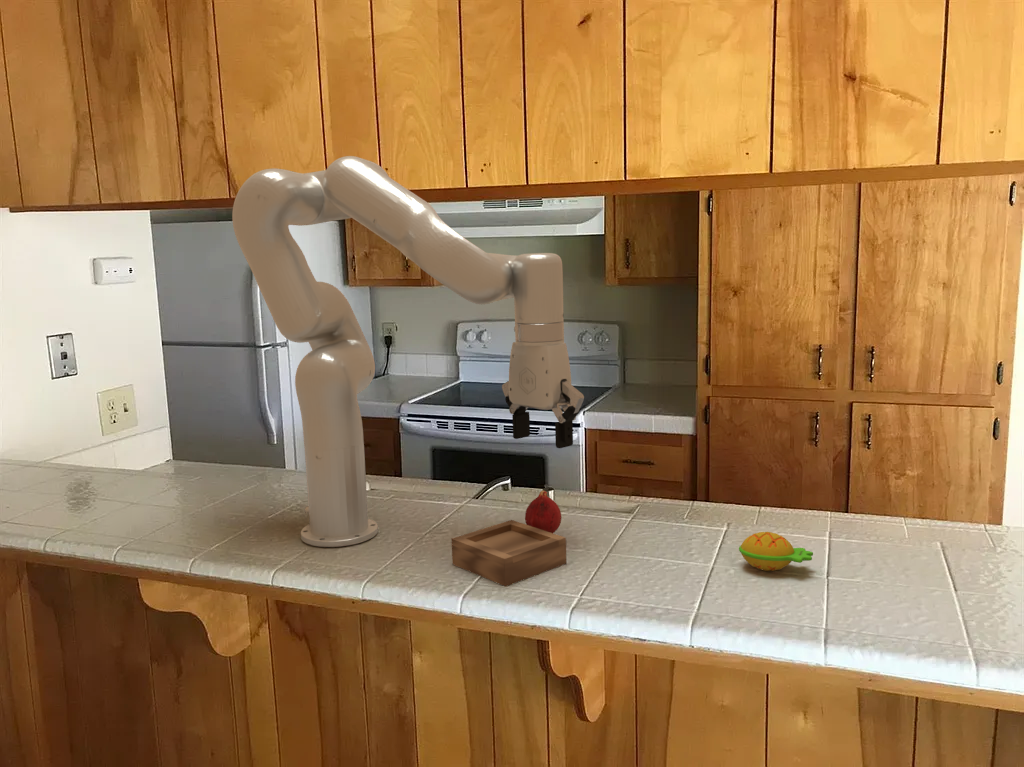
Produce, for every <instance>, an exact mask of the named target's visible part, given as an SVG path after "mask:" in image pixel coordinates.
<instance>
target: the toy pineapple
mask: <svg viewBox="0 0 1024 767" xmlns="http://www.w3.org/2000/svg"><path fill="white" fill-rule="evenodd" d="M738 551H739V553H740V554H741V556H742V558H743V559H744V560H745V561H746V562H747V563H748V564H749V565H750V566H752V567H753V568H756V569H758V570H761V571H766V572H768V571H769V572H770V571H779V570H782V569H783V568H785V567H787V566H788V565H790V564H791V563H792V562H794V563H803V561H804V562H807V561H809V562H810V561H812V560H813V557H812V556H813V555H814V552H813V551H811V550H806V548H805V547H794V546H793V545H792V543H791V542H790V541H789V540H787V538H786V537H784V536H783V535H780V534H778V533H776V532H771V531H759V532H757V533H756V532H755V533H753V534H751V535H749V536H748V537H746V538H745V539H744V540H743V541H742V543H741V545H739V548H738Z"/></svg>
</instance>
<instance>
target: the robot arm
mask: <svg viewBox="0 0 1024 767" xmlns="http://www.w3.org/2000/svg"><path fill="white" fill-rule="evenodd" d="M231 216H232V226H233V231H234V234H235V238H236V240H237V243H238V246H239V247H240V248H239V249H240V250H241V252H242V254H243V256H244V258H245V259H246V262H247V264H248V266H249V268H250V270H251V272H252V275H253V277H254V278H255V282H256V284H257V286H258V288H259V290H260V293H261V296H262V297H263V299H264V302H265V303H266V305H267V308H268V310H269V312H270V314H271V316H272V319H273V322H274V323H275V325H276V327H277V329H278V331H279V333H280V334H281V335H282V336H283V337H284V338H286V340H288V341H291V342H293V343H299V344H301V343H309V344H308V345H309V346H310V349H311V350H310V351H309V352H308V353H307V354H306V355H304V356H303V358H302V359H301V360H300V362H299V364H298V365H297V368H296V371H295V376H294V378H295V379H294V385H295V392H296V397H297V400H298V401H297V402H298V406H299V410H300V415H301V423H302V433H303V434H302V435H303V436H302V437H303V447H304V458H305V473H306V474H305V475H306V488H307V501H308V502H307V503H308V505H307V506H306V507H304V512H305V513H306V514H307V515H308V518H309V524H307V525H305V526H304V527H303V528H302V529H301V530H300V538H301V541H302V542H304V543H305V544H307V545H309V546H313V547H322V548H335V547H336V548H337V547H345V546H346V547H347V546H353V545H357V544H361V543H363V542H366V541H369V540H370V539H372V538H374V537H375V536H376V535H377V534H378V533H379V525H378V523H377V522H376V521H375V520H374V519H372V518H369V514H368V513H369V512H368V510H369V509H368V494H367V477H366V476H367V475H366V460H365V457H366V456H365V445H364V444H365V441H364V430H363V429H364V428H363V420H362V414H361V410H360V406H359V405H360V404H359V401H358V394H360V393H362V392H363V391H364V390H366V389H367V388H368V387H369V386H370V384H371V382H372V381H373V379H374V377H375V371H376V363H375V358H374V355H373V352H372V350H371V348H370V346H369V343H368V341H367V339H366V337H365V335H364V332H363V331H362V328H361V326H360V324H359V321H358V319H357V317H356V315H355V313H354V311H353V308H352V307H351V304H350V303H349V300H348V299H347V298H346V297H345V295H344V293H343V292H342V291H341V290H339V289H338V288H337V287H336V286H334V285H333V284H331V283H328V282H324V281H318V280H317V279H316V278H315V276H314V274H313V272H312V270H311V267H310V266H309V264H308V261H307V259H306V257H305V254H304V252H303V250H302V249H301V247H300V246H299V244H298V243H297V241H296V240H295V238H294V237H293V235H292V234H291V231H290V228H289V226H312V225H319V224H322V223H323V224H324V223H328V222H329V223H330V222H334V221H339V220H340V221H342V220H347V219H353V220H355V222H358V224H360V225H362V226H364V227H365V228H367V229H368V230H369V231H371V232H372V233H373V234H375V235H376V236H378V237H380V238H381V239H382V240H384V241H386V242H387V243H388V244H390V246H391V245H392V246H393V247H394V248H395V249H396V250H398V251H399V252H400V253H401V254H402V255H403V256H404V257H405V258H407V259H408V260H410V261H411V262H413V263H414V264H415V265H416V266H417V267H419V268H420V269H421V270H423V272H425V273H426V274H427V275H428V276H430V277H432V278H433V279H434V280H436V281H437V282H439V283H440V284H442V285H443V286H444V287H445V288H448V289H449V290H451V291H452V292H453V293H455V294H456V295H458V296H460V297H461V298H462V299H465V301H468V302H470V303H473V304H476V305H482V306H483V305H490V304H493V303H495V302H499V301H502V300H509V299H513V300H514V302H513V303H514V327H513V330H514V332H515V333H514V335H515V339H514V340H515V341H514V342H512V344H511V349H510V356H509V366H508V367H509V368H508V381H506V382H505V383H503V384H502V385H501V389H502V392H503V394H504V397H505V399H504V400H505V403H506V404H507V406H508V407H509V409H508V411H509V414H510V415H512V438H513V439H514V440H519V439H525V438H527V437H530V435H531V425H530V422H531V420H530V412H529V411H527V410H528V409H529V408H531V409H536V410H543V411H548V410H552V411H551V412H553V415H554V416H555V417H556V420H557V421H558V422H554V423H555V424H554V431H555V432H554V433H555V434H554V435H555V447H556V448H557V449H563V448H564V449H565V448H567V447H572V446H573V445H574V433H573V432H574V427H573V426H574V424H573V422H574V421H575V420H576V419H577V416H578V415H579V413H580V412H581V407H582V405H583V402H584V399H585V396H584V394H583V393H582V392H580V390H578V389H577V388H576V387H574V386H573V385H572V375H571V374H572V373H571V364H570V358H569V353H568V347H567V343H566V342H565V325H564V324H565V322H564V320H565V319H564V317H565V316H564V279H563V278H564V277H563V276H564V275H563V274H564V273H563V261H562V257H560V255H558V254H557V253H554V252H537V253H536V252H535V253H534V252H533V253H531V252H530V253H521V254H519V255H515V254H514V255H513V254H511V255H510V254H503V253H494V252H493V253H492V252H486V251H485V250H483V249H482V248H480V247H479V246H477V245H475V244H474V243H473V242H471V241H470V240H468V239H466V238H465V237H464V236H462V235H461V234H460V233H459V232H456V231H455V230H454V229H453V228H452V227H450V226H449V225H448V224H447V223H446V222H444V220H443V219H442V218H441V217H440V216H439V215H438V213H437V211H436V209H435V208H434V207H433V206H432V205H431V204H430V203H429V202H427V201H426V200H425V199H423V198H421V197H420V196H418V195H417V194H416V193H414V192H412V191H411V190H409V189H407V187H405V186H403V185H402V184H401V183H399V182H398V181H396V180H394V179H392V178H391V177H390V176H389V174H388V172H386V170H385V169H384V168H383V167H381V166H380V165H379V164H377V163H376V162H373V161H371V160H368V159H365V158H361V157H359V156H354V155H347V156H342V157H339V158H337V159H335V160H334V161H333V162H331V163H330V164H329V166H327V168H326V169H325V170H318V171H313V172H304V173H302V172H296V171H291V170H288V169H283V168H282V169H281V168H266V169H262V170H258V171H257V172H255V173H253V174H252V175H250V176H249V177H248V178H247V179H246V180H245V181H244V182H243V184H242V185H241V186H240V188H239V189H238V192H237V193H236V195H235V199H234V202H233V205H232V214H231Z"/></svg>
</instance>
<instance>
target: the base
mask: <svg viewBox="0 0 1024 767" xmlns="http://www.w3.org/2000/svg"><path fill="white" fill-rule="evenodd" d="M450 542H451V559H452V561H451V562H452V565H453V566H456V567H458V568H460V569H463V570H465V571H468V572H469V573H472V574H475V575H478V576H480V577H482V578H484V579H486V580H489V581H492V582H494V583H496V582H497V584H498V583H499V585H501V586H503V585H504V586H503V587H508V586H511V585H513V584H512V583H514V584H517V583H519V582H521V580H522V581H523V579H524V580H527V579H529V578H532V577H535V576H537V575H539V574H542V573H545V572H547V571H550V570H552V569H556V568H559V567H561V566H564V565H567V537H565V536H563V535H562V536H561V535H559V534H555V533H550V532H547V531H544V530H541V529H538V528H535V527H532V526H529V525H526V523H523V522H520V521H516V520H513V519H510V520H507V521H504V522H501V523H496V524H493V525H490V526H486V527H483V528H481V529H477V530H475V531H471V532H467V533H465V534H461V535H458V536H455V537H452V538H451V541H450ZM534 575H535V576H534ZM518 581H519V582H518ZM507 585H508V586H507Z"/></svg>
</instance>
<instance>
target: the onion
mask: <svg viewBox="0 0 1024 767" xmlns="http://www.w3.org/2000/svg"><path fill="white" fill-rule="evenodd" d="M524 519H525V524H526V525H529V526H532V527H535V528H538V529H541V530H544V531H547V532H550V533H553V534H555V532H556V531H558V529H559V527H560V526H561V522H562V512H561V509H560V507H559V505H558V504H557V503H556V502H555V500H553V499H552V498H550V497H549V496H548V492H547V491H546V490H541V491H540V492H539V494H538V495H537V497H535V498H534V499H533V500H532V501H530V503H529V505H527V507H526V509H525V514H524Z"/></svg>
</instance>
